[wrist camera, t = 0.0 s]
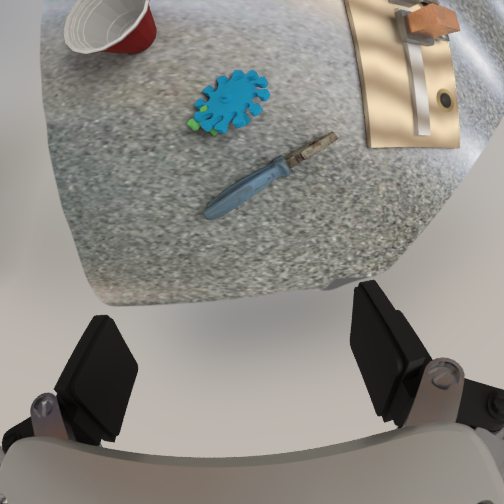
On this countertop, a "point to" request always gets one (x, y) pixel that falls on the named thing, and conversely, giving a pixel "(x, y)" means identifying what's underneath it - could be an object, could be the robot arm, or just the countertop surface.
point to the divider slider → (426, 24)
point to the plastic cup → (110, 26)
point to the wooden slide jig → (402, 79)
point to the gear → (229, 102)
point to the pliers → (263, 178)
